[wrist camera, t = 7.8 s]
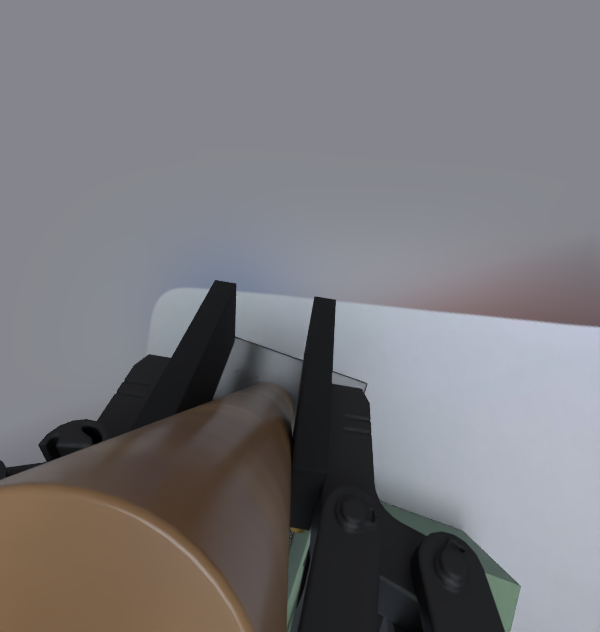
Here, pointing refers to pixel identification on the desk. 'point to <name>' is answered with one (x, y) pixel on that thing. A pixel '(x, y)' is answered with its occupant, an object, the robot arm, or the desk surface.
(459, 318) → the desk surface
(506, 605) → the cabinet
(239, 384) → the brush
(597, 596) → the desk surface
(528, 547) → the desk surface
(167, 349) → the desk surface
